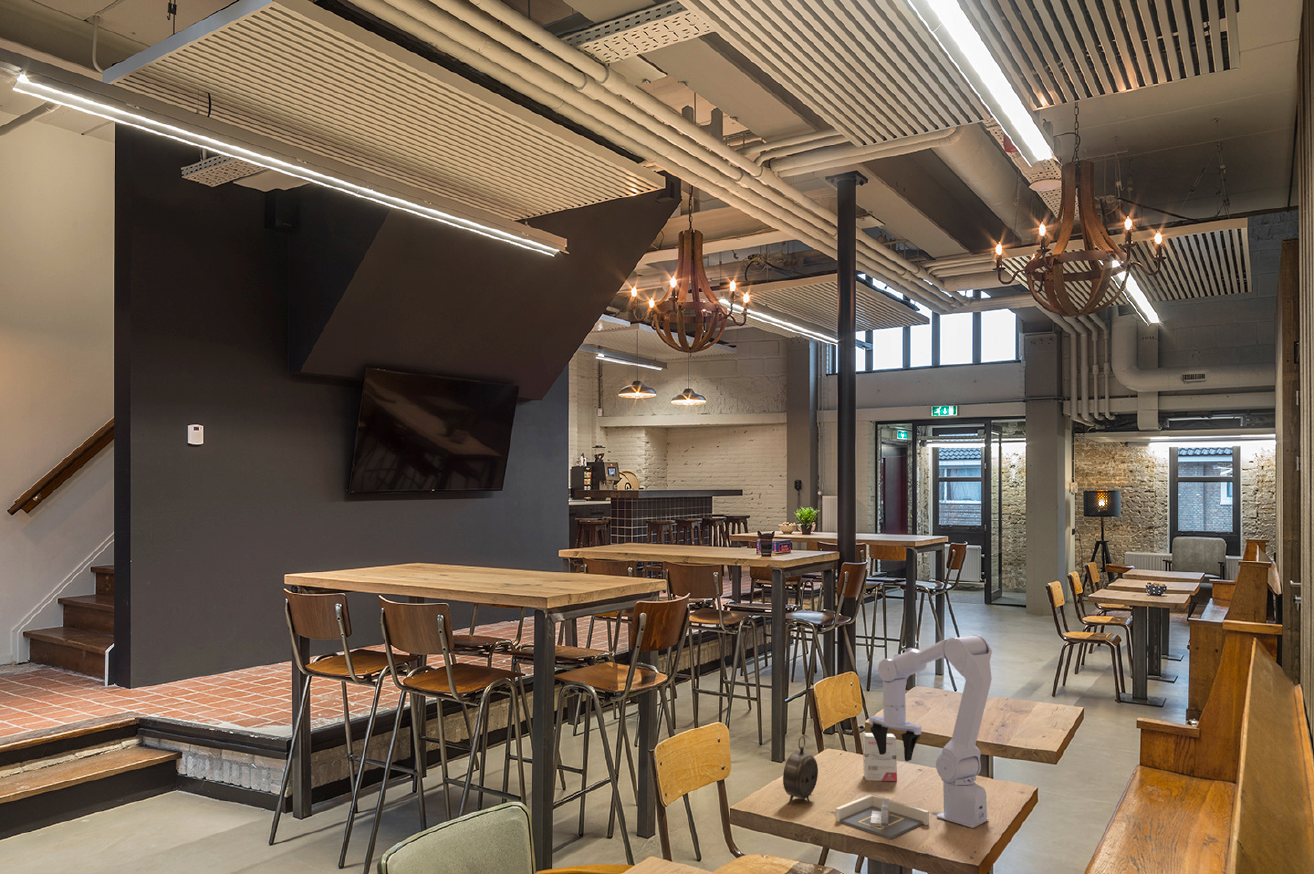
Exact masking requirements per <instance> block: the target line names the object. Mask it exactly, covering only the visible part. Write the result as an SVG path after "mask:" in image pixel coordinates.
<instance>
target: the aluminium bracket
mask: <svg viewBox="0 0 1314 874" xmlns="http://www.w3.org/2000/svg"><path fill="white" fill-rule="evenodd" d="M889 800H890V798H886V799H885V797H883V800H882V808H881V812H880V811H872V816H871V822H870V825H871V826H876V827H885V828H888V825H889Z"/></svg>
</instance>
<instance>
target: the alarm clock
mask: <svg viewBox="0 0 1314 874" xmlns="http://www.w3.org/2000/svg"><path fill="white" fill-rule="evenodd" d="M801 739H803V746H800V745H801V744H800V742H801ZM805 746H806V738H805V737H804V735H801V736H800V737H799V738H798V748H799V750H796V751H794V752H792V753H791V754H790V755H789V757H788V758H787V760H786V762H785V765H784V770H783V774H782V783H783V789H784V791H785V793H786V794H787V795H789V796H790V797H789V801H788V805H791V803H792V801H793V799H794V797H795V798H797V799H801V800H803V799H806V800H807V802H808V804H810V803H811V801H810V796H811V794H813V792H814V790H815V788H816V785H817V781H818V776H819V768H818V763H817V760H816V758H815V757H814V756H813V755H812V754H809V753H806V752H804V750H805Z"/></svg>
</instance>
